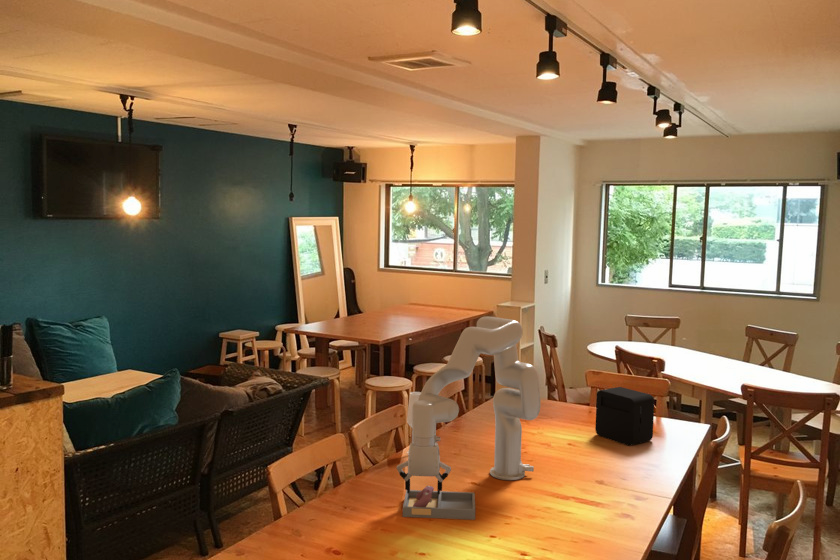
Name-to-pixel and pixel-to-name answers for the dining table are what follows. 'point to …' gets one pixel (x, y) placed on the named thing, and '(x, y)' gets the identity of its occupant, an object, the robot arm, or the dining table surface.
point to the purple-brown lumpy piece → (424, 497)
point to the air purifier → (624, 415)
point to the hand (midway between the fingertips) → (423, 492)
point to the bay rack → (441, 505)
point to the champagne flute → (412, 399)
